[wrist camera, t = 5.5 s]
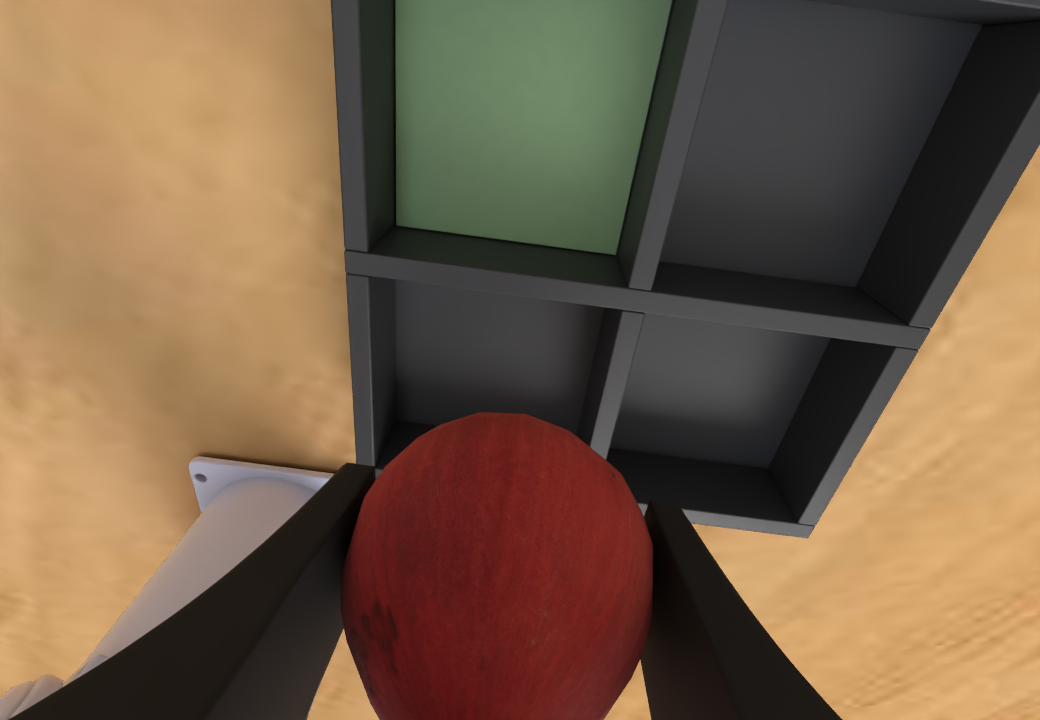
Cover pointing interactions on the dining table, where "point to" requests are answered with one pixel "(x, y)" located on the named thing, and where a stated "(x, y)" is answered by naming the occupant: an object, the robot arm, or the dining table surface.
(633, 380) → the divided tray
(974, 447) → the dining table surface
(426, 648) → the onion
